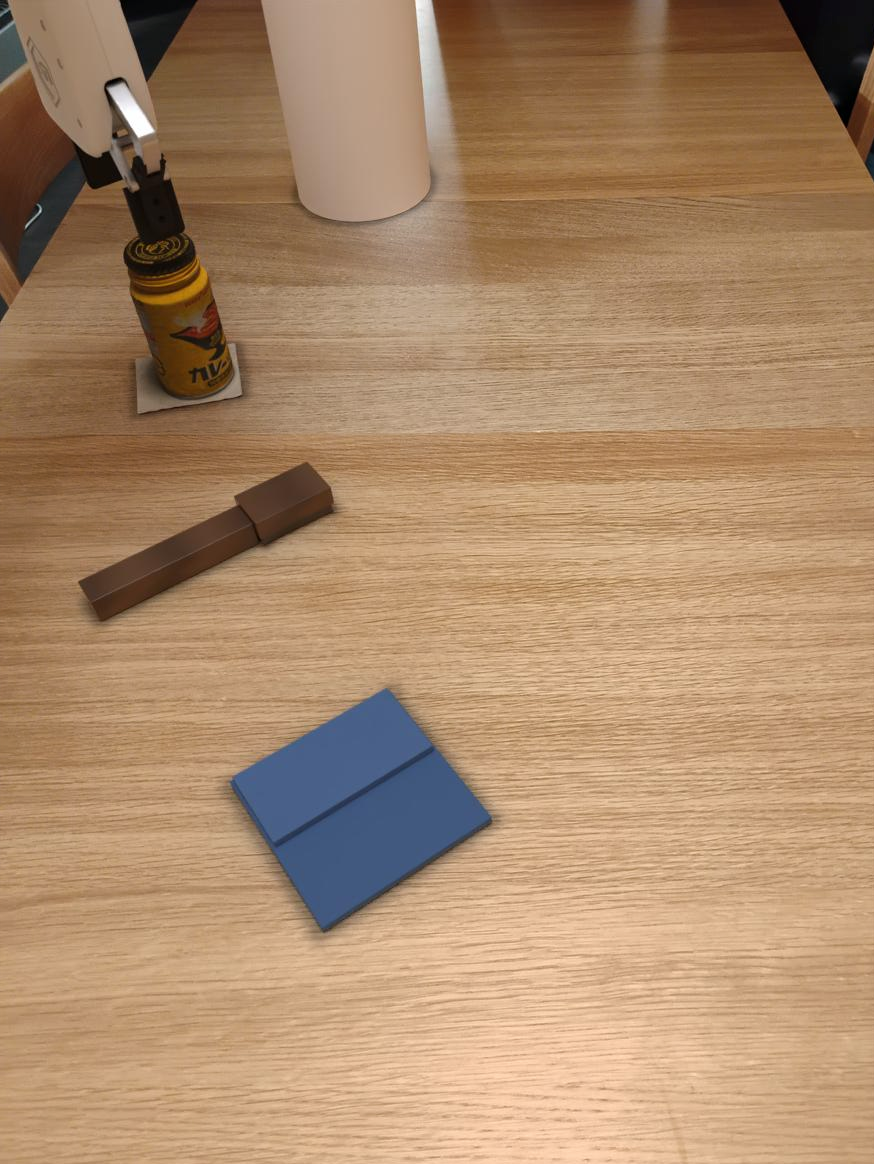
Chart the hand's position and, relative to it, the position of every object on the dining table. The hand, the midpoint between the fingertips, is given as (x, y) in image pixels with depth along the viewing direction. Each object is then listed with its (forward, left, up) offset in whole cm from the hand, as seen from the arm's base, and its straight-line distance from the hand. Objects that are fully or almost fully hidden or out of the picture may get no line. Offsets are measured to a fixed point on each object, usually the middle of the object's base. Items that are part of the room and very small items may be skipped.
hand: (136, 208), depth 72 cm
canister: (+28, +18, -15) cm, 36 cm away
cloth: (-9, -43, -15) cm, 47 cm away
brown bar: (-7, -20, -15) cm, 26 cm away
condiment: (0, 0, -15) cm, 15 cm away
